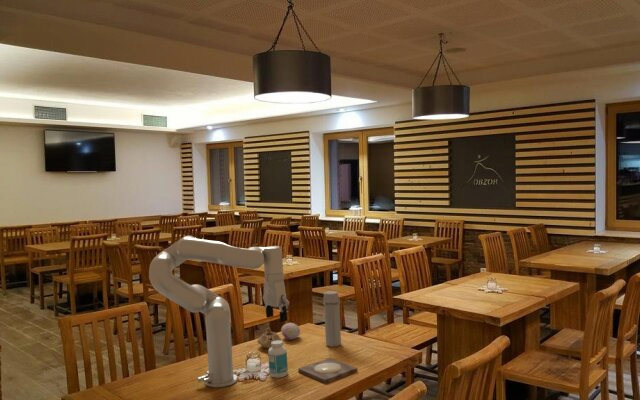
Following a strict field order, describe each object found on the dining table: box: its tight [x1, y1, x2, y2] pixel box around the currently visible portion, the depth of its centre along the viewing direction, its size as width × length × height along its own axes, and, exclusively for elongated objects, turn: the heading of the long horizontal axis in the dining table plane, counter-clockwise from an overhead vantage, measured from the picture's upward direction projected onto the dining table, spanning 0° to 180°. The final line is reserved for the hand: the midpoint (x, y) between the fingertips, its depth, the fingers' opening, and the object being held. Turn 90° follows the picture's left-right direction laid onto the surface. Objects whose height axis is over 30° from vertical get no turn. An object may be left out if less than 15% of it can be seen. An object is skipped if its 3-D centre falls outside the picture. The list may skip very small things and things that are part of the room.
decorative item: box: [280, 322, 301, 340], centre depth 257 cm, size 9×11×10 cm
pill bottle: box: [267, 340, 289, 379], centre depth 209 cm, size 8×7×14 cm
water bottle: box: [322, 290, 342, 348], centre depth 242 cm, size 9×8×25 cm
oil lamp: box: [257, 327, 282, 350], centre depth 244 cm, size 11×15×8 cm
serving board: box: [298, 357, 358, 384], centre depth 210 cm, size 17×17×2 cm
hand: (276, 319), depth 209 cm, fingers open, 9 cm apart
